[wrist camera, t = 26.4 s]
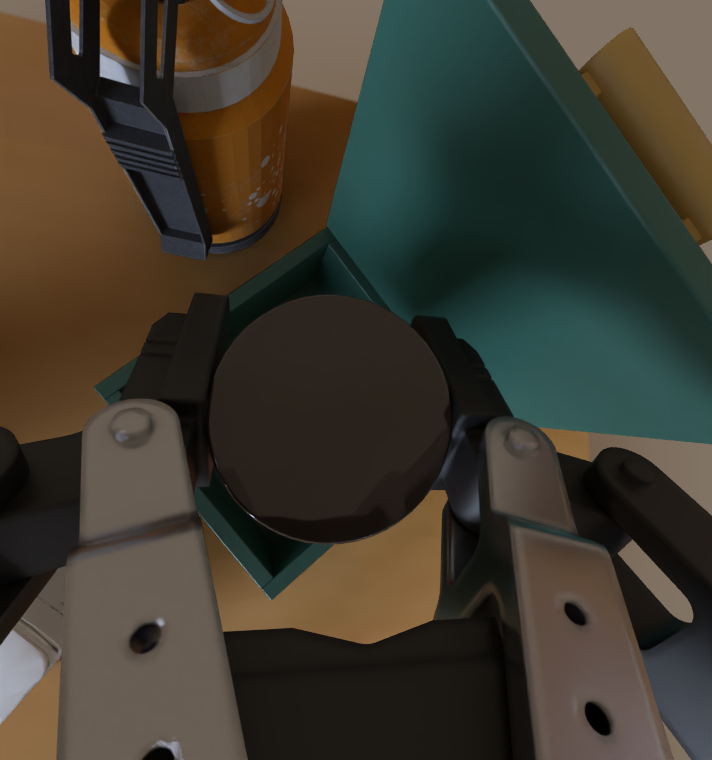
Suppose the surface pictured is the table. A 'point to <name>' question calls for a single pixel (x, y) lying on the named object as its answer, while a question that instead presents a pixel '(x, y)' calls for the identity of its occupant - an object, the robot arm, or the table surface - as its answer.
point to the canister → (185, 107)
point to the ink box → (32, 645)
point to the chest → (248, 302)
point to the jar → (329, 419)
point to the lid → (538, 213)
